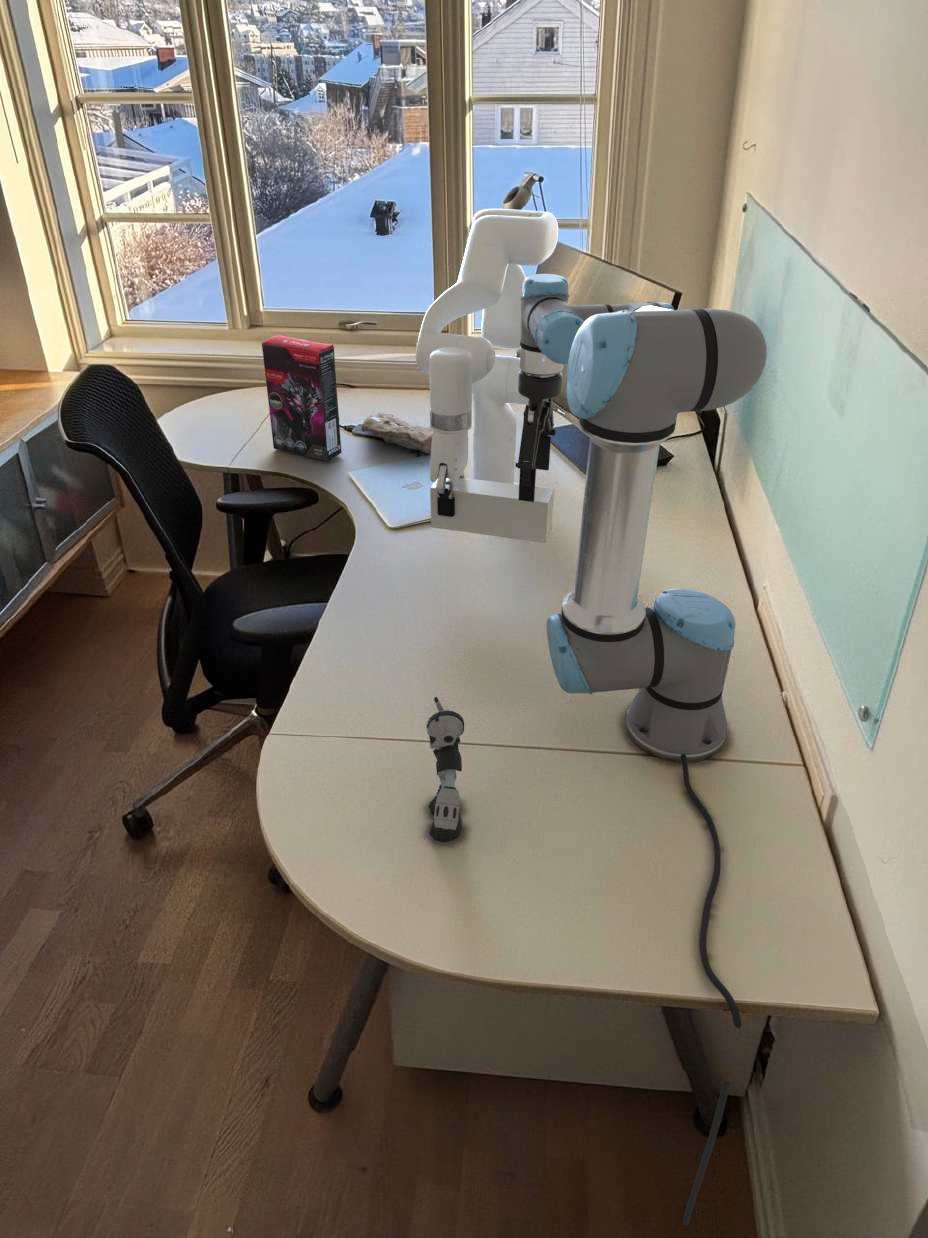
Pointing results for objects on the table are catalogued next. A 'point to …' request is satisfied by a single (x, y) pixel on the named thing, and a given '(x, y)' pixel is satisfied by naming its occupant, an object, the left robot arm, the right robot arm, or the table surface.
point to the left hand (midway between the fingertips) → (451, 506)
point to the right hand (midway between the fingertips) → (534, 484)
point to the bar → (496, 510)
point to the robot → (446, 772)
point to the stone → (399, 432)
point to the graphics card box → (302, 396)
